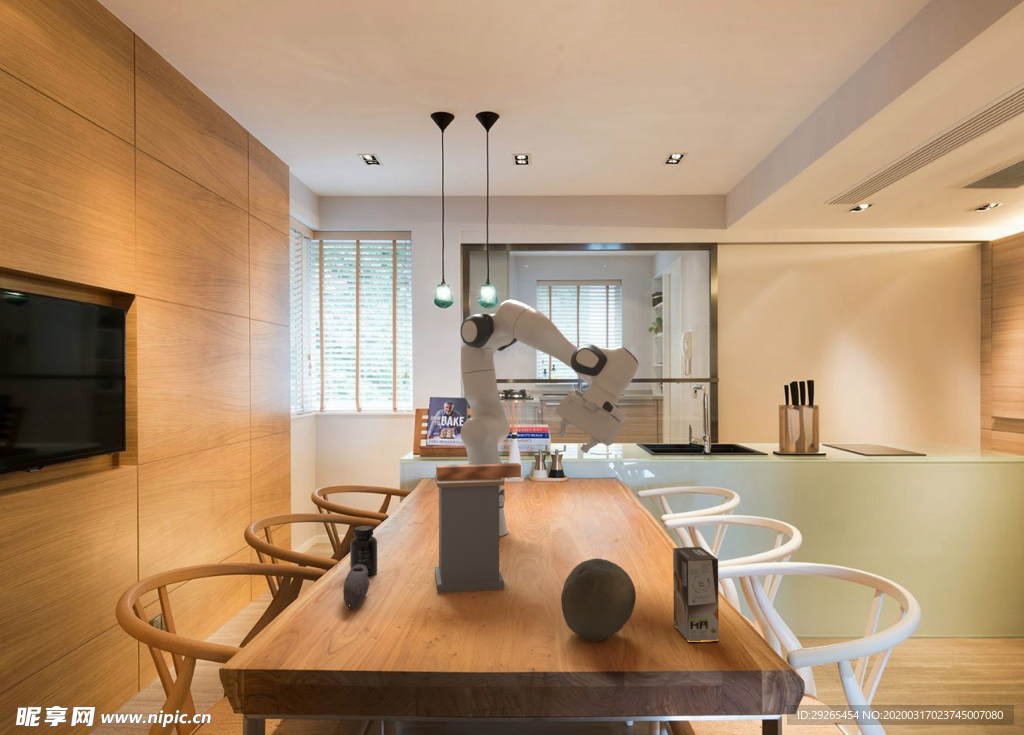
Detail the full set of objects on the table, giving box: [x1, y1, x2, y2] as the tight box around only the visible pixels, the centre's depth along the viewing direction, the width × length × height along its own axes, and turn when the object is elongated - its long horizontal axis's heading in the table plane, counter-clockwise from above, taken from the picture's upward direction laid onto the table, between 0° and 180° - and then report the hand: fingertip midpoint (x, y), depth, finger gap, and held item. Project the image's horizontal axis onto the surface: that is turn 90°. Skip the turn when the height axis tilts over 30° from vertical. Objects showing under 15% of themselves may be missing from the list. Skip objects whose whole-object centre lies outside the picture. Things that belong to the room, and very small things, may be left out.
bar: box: [435, 462, 522, 480], centre depth 157 cm, size 21×4×3 cm, turn 100°
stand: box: [434, 473, 505, 594], centre depth 156 cm, size 16×14×26 cm
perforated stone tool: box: [342, 564, 370, 611], centre depth 142 cm, size 15×5×7 cm, turn 4°
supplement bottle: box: [349, 525, 378, 578], centre depth 162 cm, size 7×7×12 cm
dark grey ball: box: [560, 558, 637, 642], centre depth 123 cm, size 14×14×15 cm
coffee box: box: [672, 546, 720, 641], centre depth 125 cm, size 9×6×16 cm
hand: (571, 443), depth 171 cm, fingers open, 8 cm apart
